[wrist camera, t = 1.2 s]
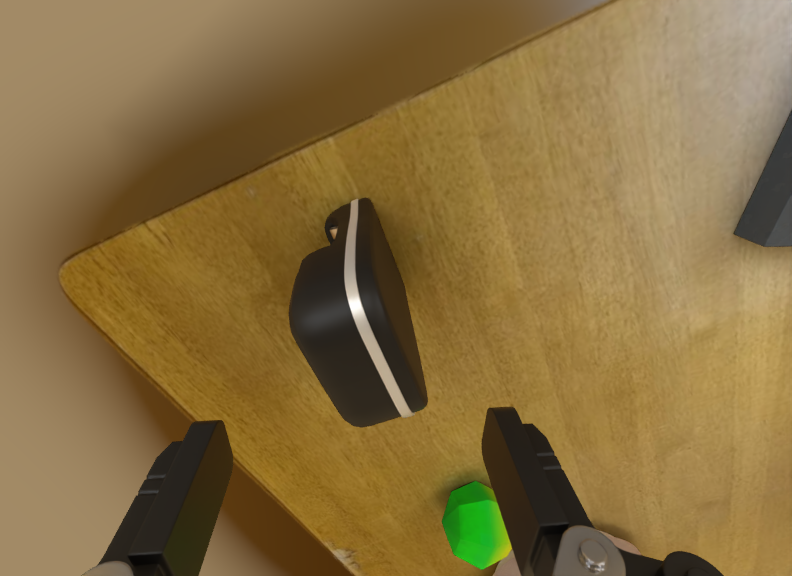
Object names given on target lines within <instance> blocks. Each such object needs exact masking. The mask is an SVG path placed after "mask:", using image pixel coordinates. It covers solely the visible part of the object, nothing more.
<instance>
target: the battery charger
mask: <svg viewBox="0 0 792 576" xmlns="http://www.w3.org/2000/svg"><path fill="white" fill-rule="evenodd" d="M325 232H326V235H327V237H328V240H329V242H330V244H331V245H330V246H327V247H324V248H321V249H319V250H317V251H315V252H313V253H311V254H309V255H308V256H307V257H305V258H304V259H303V260H302V263H301V266H300V269H299V272H298V274H297V276H296V279H295V283H294V286H293V291H292V295H291V300H290V305H289V321H290V328H291V332H292V335H293V337H294V339H295V341H296V343H297V345H298V346H299V348H300V350H301V351H302V353H303V355H304V356H305V358H306V360H307V362H308V363H309V365H310V367H311V368H312V370H313V372H314V373H315V375H316V377H317V378H318V380H319V382H320V383H321V385H322V386H323V388H324V390H325V391H326V393H327V394H328V396H329V398H330V399H331V401H332V402H333V404H334V406H335V407H336V409H337V410H338V412H339V413H340V415H341V416H342V418H343V419H344V420H345V421H347V422H348V423H350V424H351V425H353V426H356V427H367V426H372V425H375V424H378V423H382V422H385V421H388V420H391V419H394V418H398V417H401V416H402V417H403V418H407V417H410V416H413V415H415V412H417V411H420V410H422V409H424V408H425V407H426V405H427V403H428V397H427V391H426V386H425V381H424V376H423V371H422V366H421V361H420V356H419V352H418V347H417V342H416V338H415V333H414V328H413V324H412V319H411V315H410V310H409V306H408V301H407V296H406V291H405V286H404V283H403V281H402V278H401V276H400V273H399V270H398V268H397V265H396V263H395V260H394V257H393V255H392V252H391V250H390V247H389V245H388V242H387V240H386V237H385V234H384V232H383V229H382V227H381V224H380V222H379V219H378V217H377V214H376V212H375V209H374V206H373V204H372V202H371V200H370V199H368V198H363V199H360V200H358V199H355V200H353V201H351V203H349V204H347V205H344V206H341V207H340V208H338V209H337V210H335V211H334V212H332V213H331V214H330V215H329V216H328V218H327V220H326V222H325Z"/></svg>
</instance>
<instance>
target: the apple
mask: <svg viewBox="0 0 792 576" xmlns="http://www.w3.org/2000/svg"><path fill="white" fill-rule="evenodd" d="M442 524H443V527H444V530H445V533H446V536H447V539H448V541H449V544H450V546H451V549H452V551H453V554H454V555H455V556H457V557H459V558H461V559H463V560H465V561H466V562H468V563H470V564H472V565H474V566H476V567H478V568H479V569H481V570H483V569H485V568H486V567H488V566H490V565H492V564H494V563H496V562H498V561H500V560H502V559H503V558H505V557H507V556H508V554H509V552H510V551H511V549H512V546H511V543H510V540H509V537H508V534H507V531H506V528H505V525H504V522H503V519H502V516H501V512H500V509H499V506H498V503H497V500H496V497H495V494H494V491H493V489H491V488H489V487H487V486H485V485H483V484H481V483H479V482H477V481H474V482H472V483H470V484H467V485H465V486H463V487H461V488H458V489H456V490H454V491H451V494H450V497H449V500H448V503H447V506H446V509H445V512H444V516H443V519H442Z"/></svg>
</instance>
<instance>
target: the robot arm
mask: <svg viewBox="0 0 792 576" xmlns="http://www.w3.org/2000/svg"><path fill="white" fill-rule="evenodd" d="M482 455H483V460H484V463H485V466H486V469H487V472H488V476H489V479H490V482H491V485H492V488H493V491H494V494H495V497H496V500H497V503H498V506H499V509H500V512H501V516H502V519H503V522H504V525H505V528H506V531H507V534H508V537H509V540H510V543H511V546H512V549H513V552H514V556H515V559H516V562H517V565H518V568H519V571H520V574H521V576H723V575H722V573H721V572H719V571H718V570H717V569H716V568H715V567H714V566H713V565H711V564H710V563H709V562H707V561H705V560H704V559H702V558H700V557H698V556H696V555H694V554H691V553H688V552H682V551H677V552H673V553H670V554H669V555H668V556H667V557H666V558H665V560H664V561H660V560H656V559H653V558H649V557H645V556H642V555H638V554H634V553H630V552H627V551H624V550H622V549H620V548H618V547H616V546H615V545H614V543H613V542H612V541H611V540H610V539H609V538H608V537H607V536H605V535H604V534H603V533H601V532H599V531H598V530H596V529H595V528H594V526H593V525H592V524H591V522H590V520H589V519H588V517H587V515H586V513H585V511H584V509H583V507H582V505H581V503H580V501H579V499H578V497H577V496H576V494H575V492H574V490H573V488H572V486H571V484H570V482H569V480H568V478H567V476H566V474H565V473H564V471H563V470H562V469H561V465H560V463H559V461H558V459H557V457H556V456H555V455H554V451H553V450H552V448H551V446H550V444H549V442H548V440H547V438H546V437H545V436H544V435H543V434H542V433H541V432H540V431H539V430H538V429H537V428H536V427H535V426H534V425H533V424H522V422H521V420H520V417H519V415H518V413H517V411H516V410H515V408H514V407H496V408H489V409H488V410H487V415H486V421H485V426H484V431H483V437H482ZM232 468H233V454H232V450H231V447H230V443H229V439H228V436H227V432H226V428H225V425H224V422H223V421H222V420H214V421H195V422H193V423H192V424H191V426H190V428H189V430H188V432H187V434H186V436H185V438H184V440H183V441H178V442H172V443H171V444H170V445H169V446H168V447H167V448H166V449H165V450H164V451H163V452H162V453H161V454H160V455H159V456H158V457H157V459H156V460H155V462H154V464H153V466H152V467H151V469H150V471H149V473H148V475H147V479H146V480H145V481H144V482H143V484H142V486H141V488H140V490H139V493H138V496H136V497H135V499H134V501H133V503H132V504H131V506H130V508H129V510H128V512H127V514H126V516H125V518H124V519H123V521H122V523H121V525H120V527H119V529H118V531H117V532H116V534H115V536H114V538H113V540H112V542H111V544H110V545H109V547H108V549H107V551H106V553H105V554H104V556H103V558H102V559H101V561H100V562H99V564H98V565H97V566H96V567H93V568H92V569H90V570H88V571H87V572H85V573H84V574H83V575H81V576H198V575H199V572H200V569H201V566H202V563H203V560H204V557H205V554H206V551H207V548H208V545H209V542H210V538H211V535H212V532H213V529H214V526H215V523H216V520H217V517H218V514H219V511H220V507H221V505H222V502H223V498H224V496H225V493H226V489H227V486H228V483H229V480H230V477H231V473H232Z"/></svg>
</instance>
